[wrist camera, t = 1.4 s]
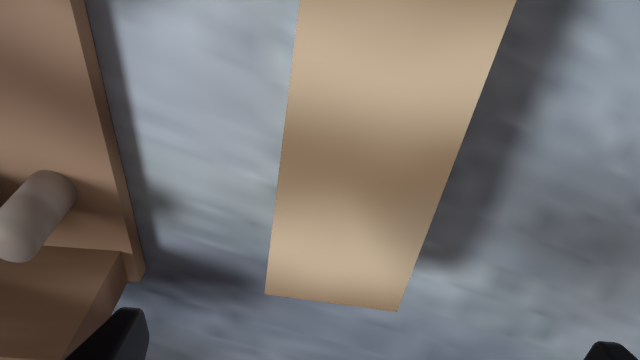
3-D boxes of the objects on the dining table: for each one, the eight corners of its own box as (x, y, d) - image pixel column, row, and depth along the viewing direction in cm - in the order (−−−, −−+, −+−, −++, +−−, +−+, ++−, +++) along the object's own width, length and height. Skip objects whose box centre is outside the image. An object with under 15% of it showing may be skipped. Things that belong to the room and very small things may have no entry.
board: (389, 245, 21) (396, 311, 18) (276, 228, 20) (264, 293, 17) (487, -55, 14) (526, -26, 11) (315, -85, 13) (307, -64, 10)
